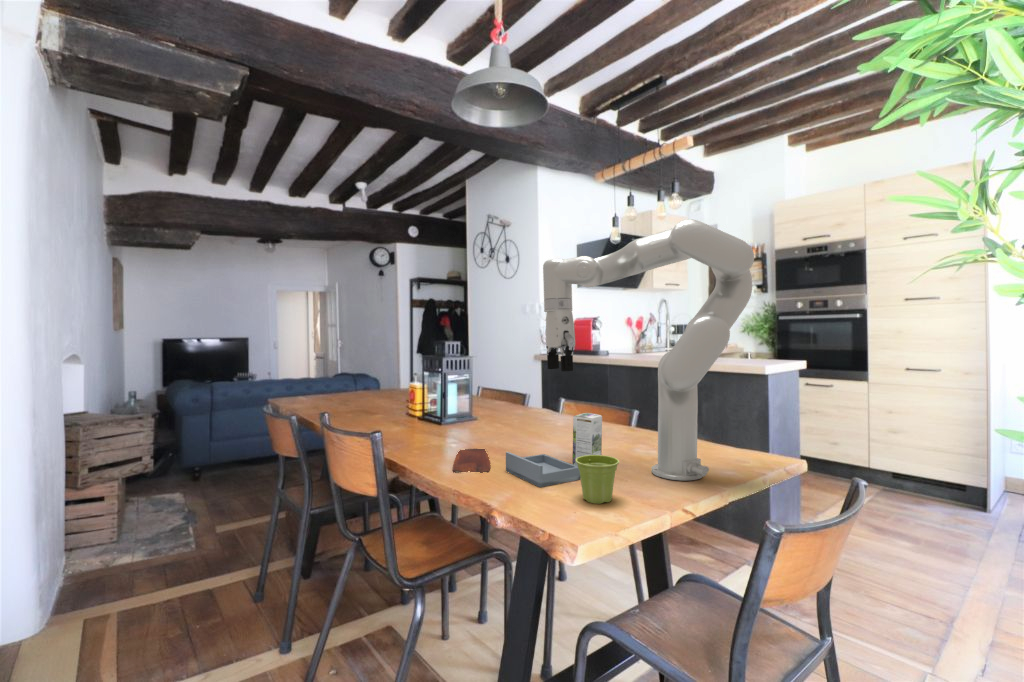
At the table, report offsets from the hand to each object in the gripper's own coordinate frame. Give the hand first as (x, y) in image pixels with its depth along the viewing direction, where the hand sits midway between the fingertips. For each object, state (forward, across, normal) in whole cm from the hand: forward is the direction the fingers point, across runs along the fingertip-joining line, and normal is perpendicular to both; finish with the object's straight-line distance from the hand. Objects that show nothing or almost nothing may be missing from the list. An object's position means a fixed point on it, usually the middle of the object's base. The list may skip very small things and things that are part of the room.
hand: (559, 369), depth 137 cm
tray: (+26, -6, +8) cm, 28 cm away
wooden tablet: (+26, +14, +22) cm, 37 cm away
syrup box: (+26, -5, -5) cm, 27 cm away
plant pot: (+27, -27, +3) cm, 38 cm away
